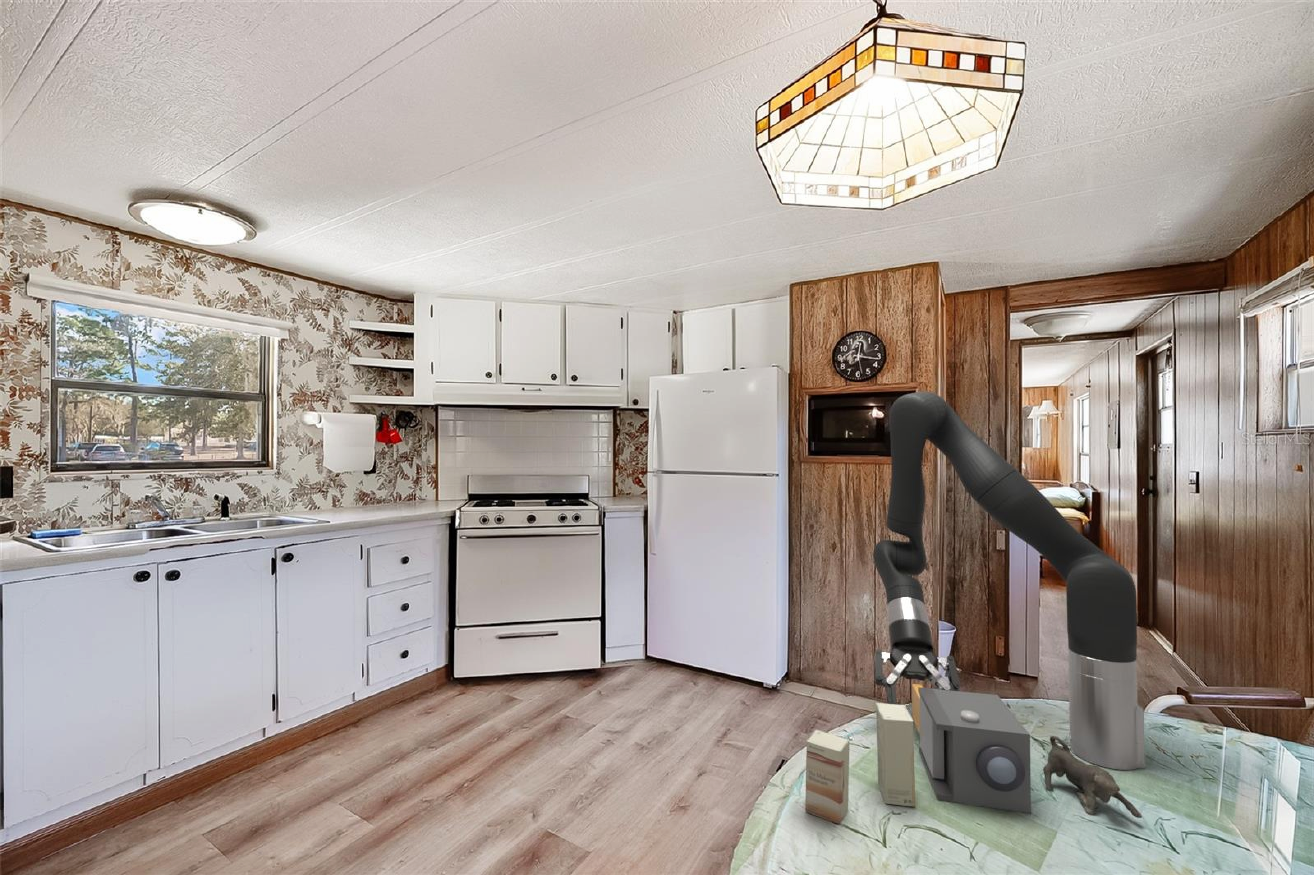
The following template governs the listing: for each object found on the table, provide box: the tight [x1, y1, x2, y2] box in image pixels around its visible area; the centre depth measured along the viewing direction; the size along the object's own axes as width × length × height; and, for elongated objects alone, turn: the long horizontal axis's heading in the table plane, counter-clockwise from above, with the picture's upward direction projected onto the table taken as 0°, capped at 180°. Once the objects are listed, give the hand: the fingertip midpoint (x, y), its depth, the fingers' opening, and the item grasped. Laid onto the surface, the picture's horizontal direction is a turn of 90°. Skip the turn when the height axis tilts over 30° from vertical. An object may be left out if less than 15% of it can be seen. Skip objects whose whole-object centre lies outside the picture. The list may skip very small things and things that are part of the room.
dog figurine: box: [1042, 735, 1143, 819], centre depth 84 cm, size 12×6×7 cm, turn 11°
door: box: [911, 683, 944, 779], centre depth 96 cm, size 2×17×9 cm, turn 166°
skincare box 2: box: [875, 702, 916, 807], centre depth 86 cm, size 6×4×12 cm
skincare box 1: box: [804, 729, 850, 824], centre depth 82 cm, size 5×4×10 cm
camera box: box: [918, 687, 1032, 814], centre depth 89 cm, size 12×15×12 cm
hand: (920, 711), depth 101 cm, fingers open, 8 cm apart
